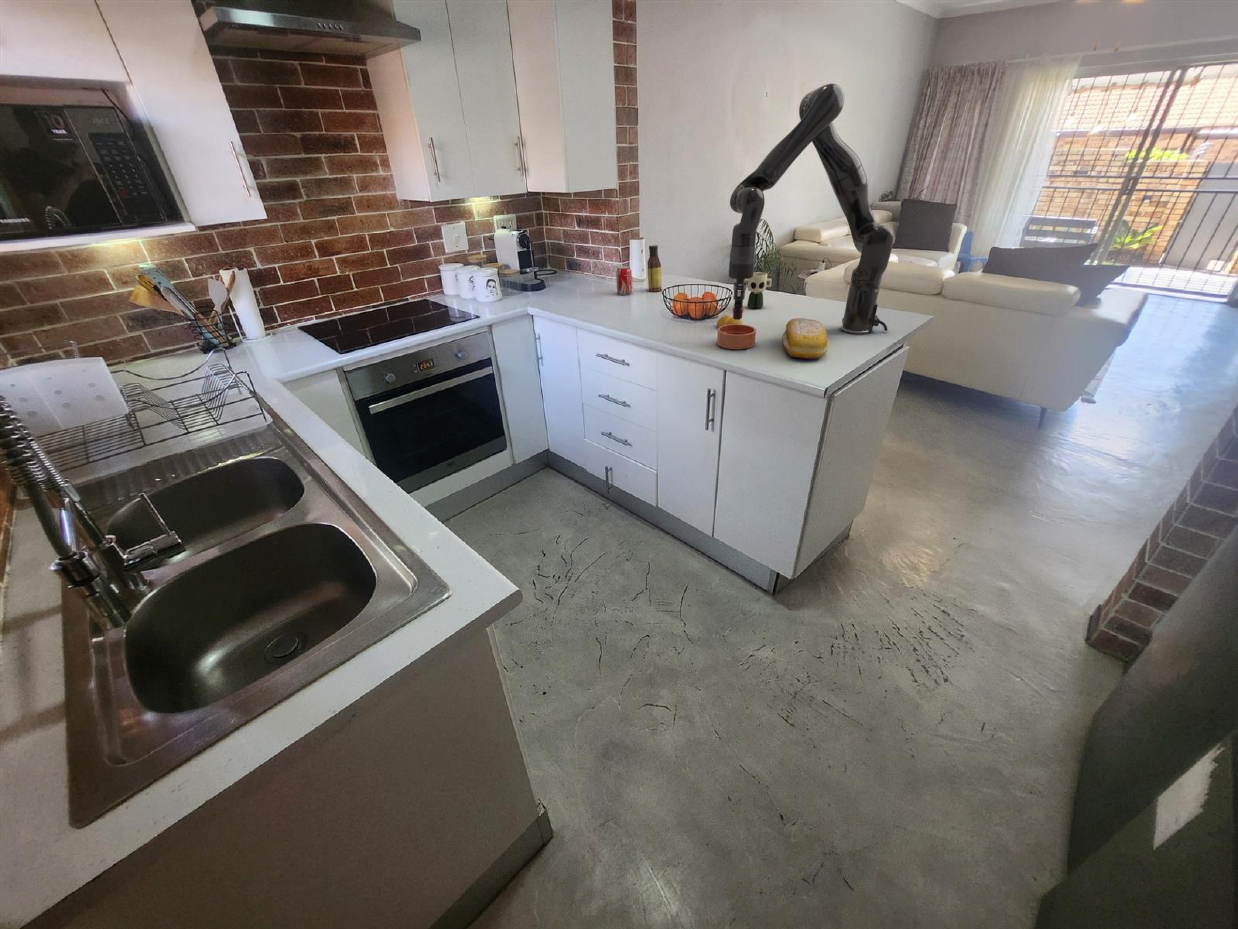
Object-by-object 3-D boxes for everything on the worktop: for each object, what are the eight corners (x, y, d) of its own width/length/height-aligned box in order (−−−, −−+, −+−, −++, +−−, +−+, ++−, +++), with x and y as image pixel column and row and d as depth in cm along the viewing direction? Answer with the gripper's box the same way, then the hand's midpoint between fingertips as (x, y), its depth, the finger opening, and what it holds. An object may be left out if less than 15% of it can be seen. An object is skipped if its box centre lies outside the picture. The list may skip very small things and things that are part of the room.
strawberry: (742, 316, 164) (744, 303, 162) (742, 319, 161) (743, 306, 159) (732, 316, 165) (733, 303, 162) (731, 319, 162) (732, 305, 160)
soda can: (615, 293, 237) (613, 266, 231) (629, 291, 239) (628, 264, 232) (619, 296, 231) (618, 268, 225) (634, 294, 233) (633, 267, 226)
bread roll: (732, 332, 178) (733, 321, 176) (713, 327, 184) (713, 316, 182) (747, 327, 183) (748, 316, 181) (727, 322, 189) (728, 311, 187)
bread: (784, 362, 152) (788, 335, 148) (778, 334, 174) (781, 311, 170) (831, 363, 149) (836, 336, 145) (819, 335, 171) (823, 311, 167)
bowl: (754, 339, 171) (756, 324, 168) (754, 351, 161) (755, 335, 158) (718, 338, 174) (719, 323, 171) (715, 349, 164) (716, 334, 161)
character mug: (741, 309, 203) (744, 276, 196) (741, 305, 209) (743, 272, 202) (769, 309, 201) (773, 275, 194) (768, 305, 207) (771, 272, 200)
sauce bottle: (664, 289, 238) (664, 244, 228) (657, 292, 234) (657, 246, 224) (651, 288, 242) (651, 243, 231) (645, 291, 237) (644, 245, 227)
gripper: (754, 265, 147) (749, 324, 156) (754, 256, 159) (749, 311, 168) (728, 265, 149) (724, 323, 158) (730, 256, 160) (726, 311, 169)
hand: (737, 317), depth 163 cm, fingers closed on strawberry, 3 cm apart
